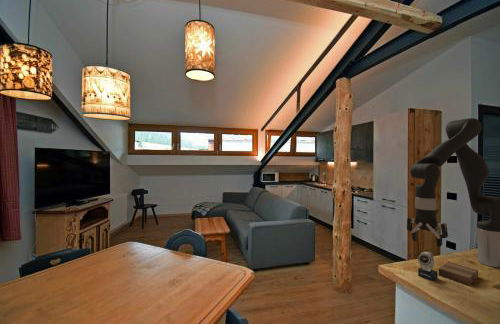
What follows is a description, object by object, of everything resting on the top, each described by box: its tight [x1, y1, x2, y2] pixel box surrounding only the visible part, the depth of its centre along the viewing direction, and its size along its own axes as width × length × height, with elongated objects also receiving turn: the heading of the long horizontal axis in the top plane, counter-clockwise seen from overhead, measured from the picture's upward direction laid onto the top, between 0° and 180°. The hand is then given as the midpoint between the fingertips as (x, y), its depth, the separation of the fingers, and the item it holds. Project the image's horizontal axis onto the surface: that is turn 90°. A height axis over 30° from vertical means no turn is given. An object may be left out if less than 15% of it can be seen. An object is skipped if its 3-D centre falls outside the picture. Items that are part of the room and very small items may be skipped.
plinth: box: [438, 261, 479, 286], centre depth 96 cm, size 12×10×3 cm
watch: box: [417, 251, 439, 282], centre depth 96 cm, size 6×8×11 cm
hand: (426, 243), depth 96 cm, fingers open, 8 cm apart
